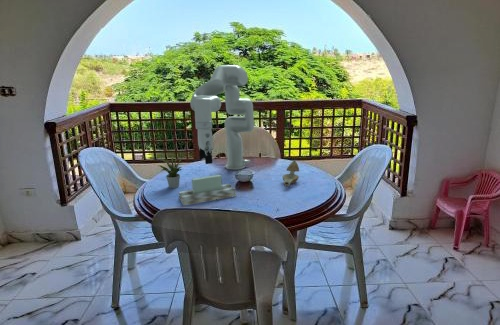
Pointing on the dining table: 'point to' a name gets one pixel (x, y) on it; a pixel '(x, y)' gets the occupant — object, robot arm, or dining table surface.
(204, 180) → the door panel
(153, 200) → the dining table surface
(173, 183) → the house plant
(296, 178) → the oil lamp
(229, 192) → the door track
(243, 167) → the robot arm
